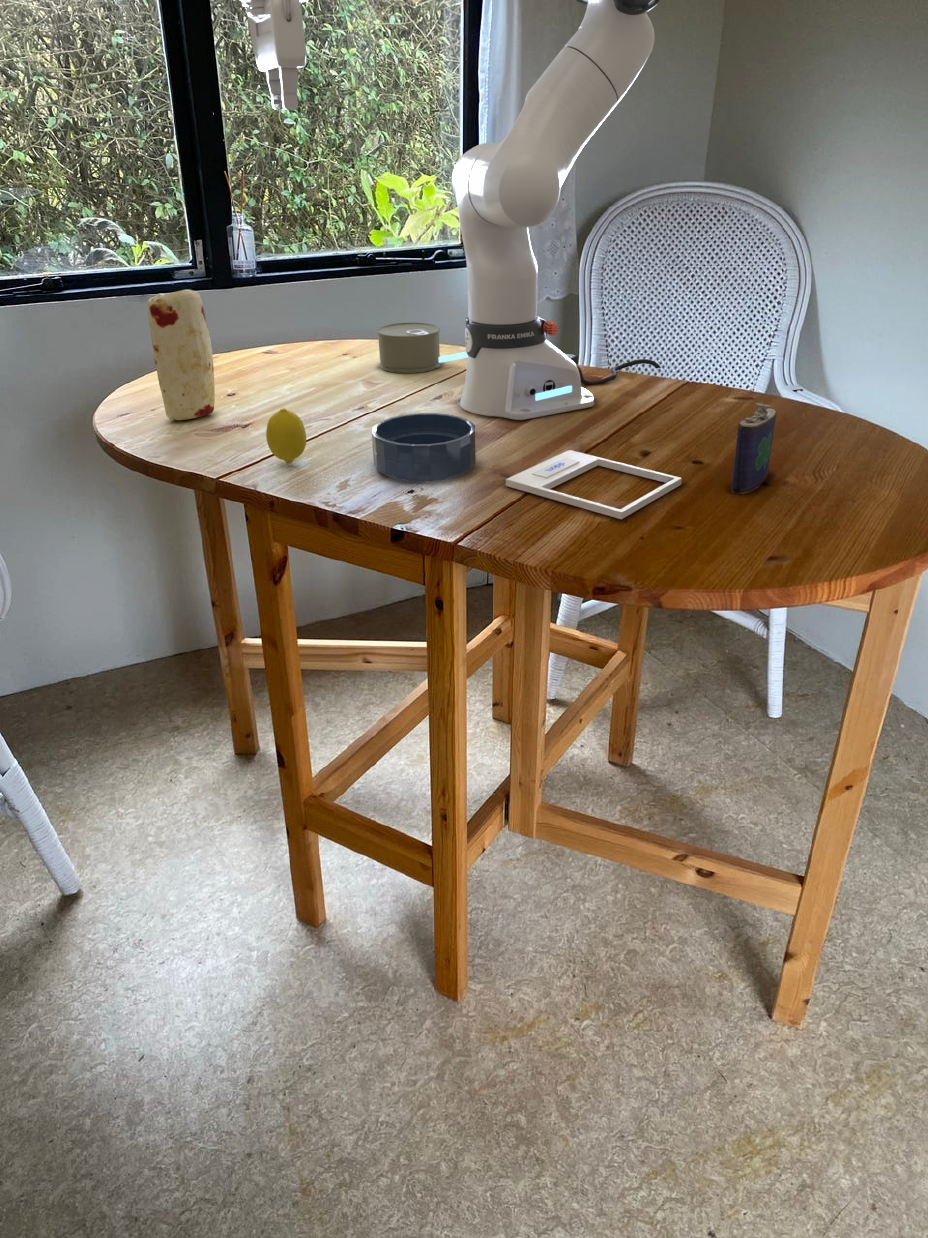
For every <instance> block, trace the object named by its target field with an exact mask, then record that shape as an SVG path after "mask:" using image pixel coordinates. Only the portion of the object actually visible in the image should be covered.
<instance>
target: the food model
mask: <svg viewBox="0 0 928 1238" xmlns="http://www.w3.org/2000/svg"><path fill="white" fill-rule="evenodd" d="M203 304H204V303H203V301H202V296H201V295H200V293H199V292H198V291H196V290H193V289H182V290H176V291H173V292H170V293H167V294H165V293H158V294H157V295H154V296H151V297H150V298H149V299H148V301H147V312H148V322H149V330H150V337H151V338H150V339H151V345H152V353H153V360H154V364H155V368H156V374H157V380H158V385H159V388H160V393H161V397H162V401H163V407H164V412H165V415H166V417H167V418H168V420H170V421H171V420H176V421H184V420H185V421H186V420H191V419H196V418H200V417H204V416H208V415H209V416H210V415H211V414H212V413H213V412H214V410H215V402H216V401H215V399H216V391H215V390H216V389H215V387H216V386H215V385H216V384H215V368H214V355H213V348H212V343H211V337H210V332H209V331H210V330H209V326H208V323H207V319H206V314H205V309H204V305H203Z"/></svg>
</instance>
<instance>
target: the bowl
mask: <svg viewBox="0 0 928 1238" xmlns="http://www.w3.org/2000/svg"><path fill="white" fill-rule="evenodd" d="M371 442H372V443H371V444H372V454H373V456H372V457H373V466H374V467H375V470H376V471H377V472H378V473H381V474H382V475H384V476H387V477H390V478H393V479H398V480H402V481H403V480H404V481H409V482H433V481H441V480H446V479H449V478H454V477H458V476H461V475H463V474H465V473H467V472H469V471H471V470H472V469H473V468H474V466H475V465H476V425H475V424H474V423H473V422H472V421H471V420H469V419H467V418H465V417H462V416H458V415H453V414H449V413H439V412H437V413H436V412H420V413H418V412H417V413H408V414H402V415H398V416H393V417H389V418H387V419H384V420H382V421H379V422H377V423H376V424H375V425H374V426H373V427H372V429H371Z"/></svg>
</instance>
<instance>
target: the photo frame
mask: <svg viewBox="0 0 928 1238" xmlns="http://www.w3.org/2000/svg"><path fill="white" fill-rule="evenodd" d="M598 466H599V467H604V468H607V469H611V470H615V471H618V472H622V473H626V474H631V475H634V476H638V477H641V478H646V479H650V480H654V481H656V482H657V481H658V482H662V483H664V484H662V485H660V486H658V487H657V488H655V489H654V490H652V491H649V492H648V493H647V494H644V495H642V496H641V497H639V498H638V499H636V500H634V501H632V502H629V504H626V505H625V506H623V507H621V508H616V507H613V506H610V505H607V504H602V503H600V502H597V501H596V502H595V501H592V500H588V499H584V498H581V497H578V496H574V495H571V494H568V493H563V492H560V491H556V490H554V489H553V488H556V487H557V486H559V485H561V484H564V483H566V482H568V481H569V480H571V479H573V478H576V477H578V476H579V475H582V474H584V473H586V472H588V471H589V470H592V469H593V468H596V467H598ZM682 480H683V478H682V477H679V476H675V475H672V474H667V473H664V472H659V471H656V470H652V469H648V468H643V467H639V466H635V465H631V464H627V463H623V462H619V461H615V460H611V459H607V458H603V457H600V456H596V455H591V454H588V453H584V452H580V451H575V450H571V449H569V450H568V449H567V450H566V451H564V452H562V453H559V454H557V455H555V456H553V457H551V458H549V459H546V460H543V461H542V462H540V463H538V464H536V465H532V466H531V467H529V468H527V469H525V470H522V471H521V472H518V473H516V474H513V475H512V476H510V477H507V478H505V486H506V487H509V488H512V489H514V490H515V489H516V490H519V491H522V492H526V493H528V494H529V493H530V494H532V495H536V496H540V497H543V498H546V499H549V500H554V501H557V502H560V503H562V504H563V503H564V504H567V505H570V506H573V507H576V508H577V507H578V508H581V509H585V510H588V511H590V512H594V513H598V514H601V515H605V516H609V517H612V518H615V519H618V520H623V519H625V518H626V517H628V516H630V515H632V514H633V513H635V512H637V511H638V510H640V509H642V508H643V507H645V506H647V505H649V504H651V503H652V502H654V501H656V500H657V499H659V498H661V497H662V496H665V495H666V494H668V493H669V492H672V491H673V490H674V489H676V488H678V487H679V486H681V485H682Z"/></svg>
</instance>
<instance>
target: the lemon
mask: <svg viewBox="0 0 928 1238" xmlns="http://www.w3.org/2000/svg"><path fill="white" fill-rule="evenodd" d="M265 433H266V434H265V435H266V443H267V446H268V448H269V450H270V452H271V453H272V455H273V456H274V457H276V458H277V459H279V460H283V461H284V462H285V463H286V464H292V463H293V462H294V461H295V460H296V459H298V458H299V457H300V456H302V454H303V453H304V451H305V449H306V446H307V431H306V428H305V425H304V423H303V420H302V418H300V416H299V415H298V414H296V413H295V412H293V411H291V410H287V408H284V407H283V408H280V409H279V410H277V412H274V413H273V414H272V415H271V416H270V417H269V420H268V421H267V424H266V431H265Z"/></svg>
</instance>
